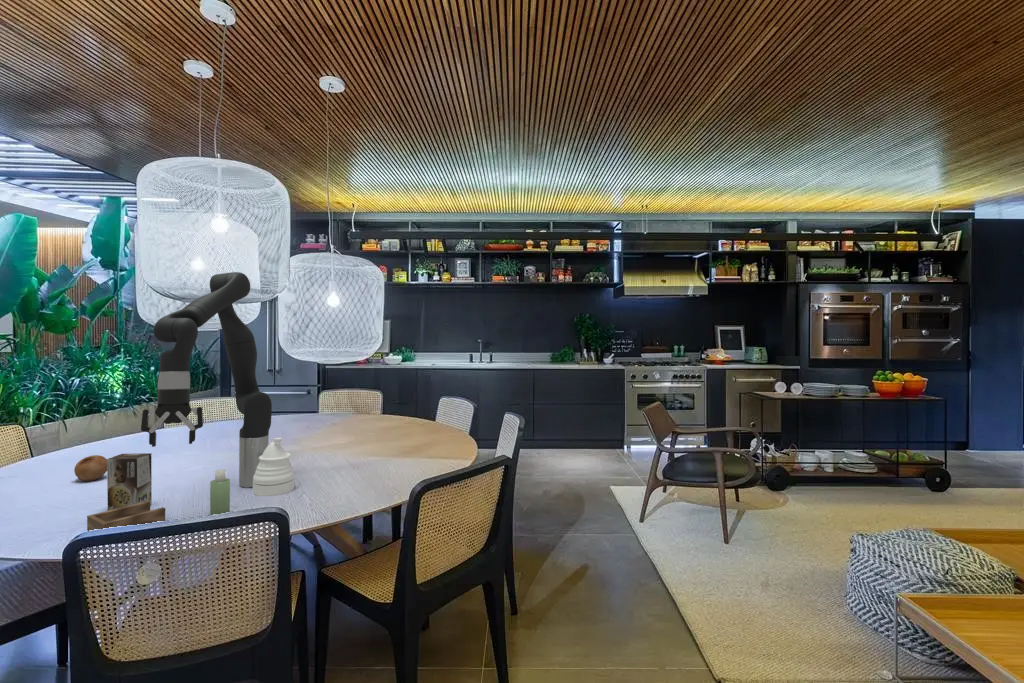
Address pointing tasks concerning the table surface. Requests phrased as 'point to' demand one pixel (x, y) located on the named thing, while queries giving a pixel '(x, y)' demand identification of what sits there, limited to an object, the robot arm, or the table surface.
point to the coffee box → (129, 480)
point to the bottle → (219, 493)
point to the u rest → (126, 516)
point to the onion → (91, 468)
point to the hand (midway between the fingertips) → (172, 444)
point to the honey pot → (273, 471)
